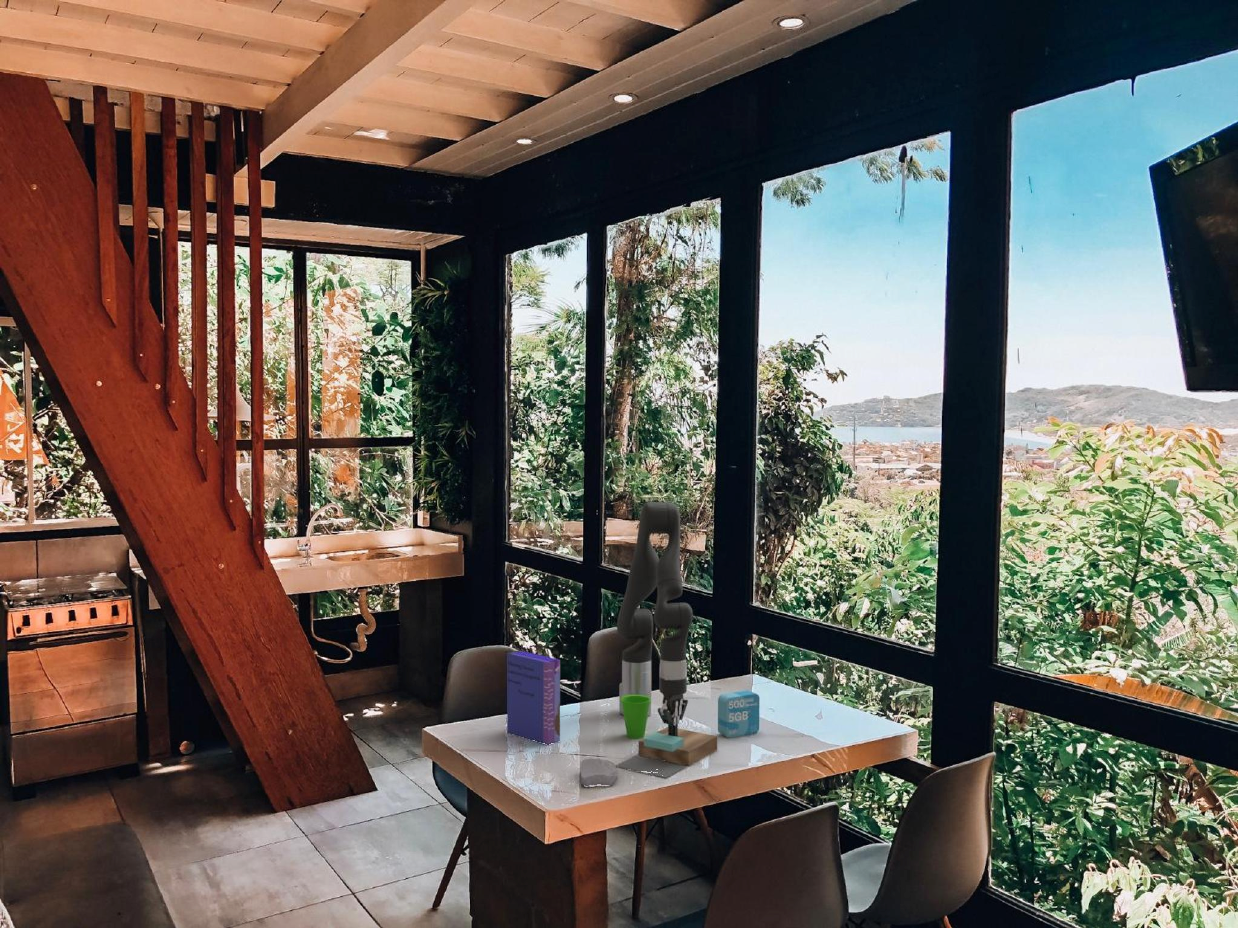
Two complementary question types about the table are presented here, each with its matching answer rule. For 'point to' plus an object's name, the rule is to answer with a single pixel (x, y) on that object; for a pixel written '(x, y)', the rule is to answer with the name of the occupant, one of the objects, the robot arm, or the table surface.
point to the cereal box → (533, 696)
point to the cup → (635, 714)
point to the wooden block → (682, 748)
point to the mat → (651, 766)
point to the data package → (738, 713)
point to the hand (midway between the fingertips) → (672, 737)
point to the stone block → (597, 772)
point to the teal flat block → (663, 741)
